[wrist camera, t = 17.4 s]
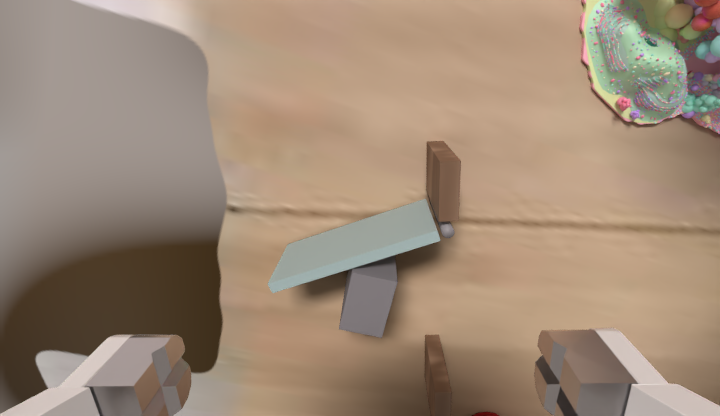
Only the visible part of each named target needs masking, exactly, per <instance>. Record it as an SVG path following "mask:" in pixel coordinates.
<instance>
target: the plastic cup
mask: <svg viewBox="0 0 720 416" xmlns="http://www.w3.org/2000/svg"><path fill="white" fill-rule="evenodd" d="M472 416H499V415H497V414H495V413H490V412H482V413H477V414H475V415H472Z"/></svg>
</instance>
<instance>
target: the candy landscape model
mask: <svg viewBox="0 0 720 416" xmlns="http://www.w3.org/2000/svg"><path fill="white" fill-rule="evenodd" d="M581 1H582V3H583V4H584V7H583V13H582V15H581V17H580V26H579V28H580V30H581V32H582V49H581V50H582V54H581V59H582V61H583V62H584V63H585V64H586V65H587V68H588V76H589V77H590V79H591V88H592V89H593V90H594V91H595V92H596V94H597V95H598V96H599V97H600V98H601V99H602V100H603V101H604V102H605V103H606V104H607V105H608V106H610V107H611V108H612V109H613V110H614V111H615V112H616V113H617V114H618V115H619V116H620V117H621V118H622V119H623V120H624V121H627V122H632V121H633V122H635V123H637V124H640V125H643V124H653V123H654V124H656V123H660V122H662V121H663V120H664V119H666V118H672V117H675V116H677V115H679V114H682V116H683V117H684V118H692V119H693V120H694V121H695V122H696V123H697V124H698V125H700V126H703V127H705V128H707V127H709V129H711V130H712V131H714V132H716V133H718V134H720V0H581Z"/></svg>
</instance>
